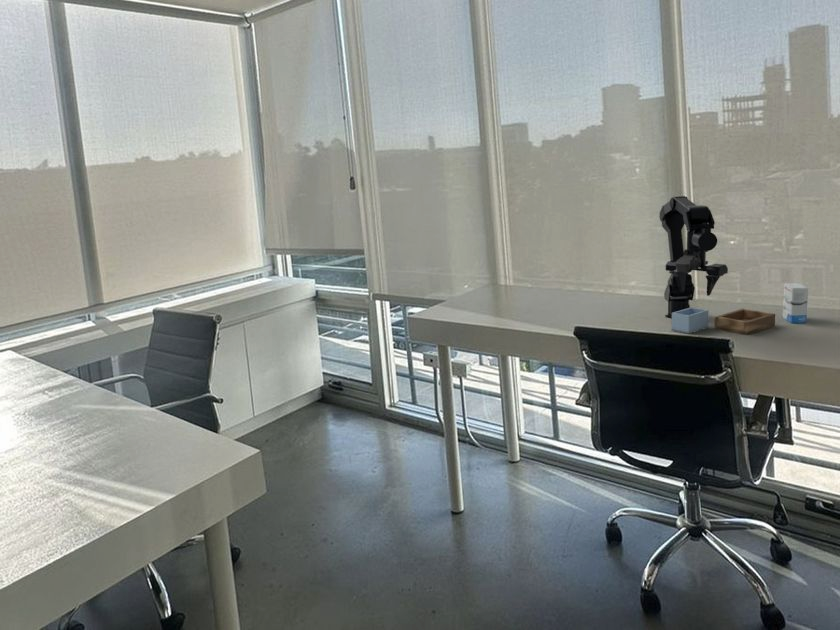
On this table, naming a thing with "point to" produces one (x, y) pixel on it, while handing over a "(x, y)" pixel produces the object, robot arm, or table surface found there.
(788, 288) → the ink box
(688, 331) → the blue crate
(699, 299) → the table surface
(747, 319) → the walnut crate
